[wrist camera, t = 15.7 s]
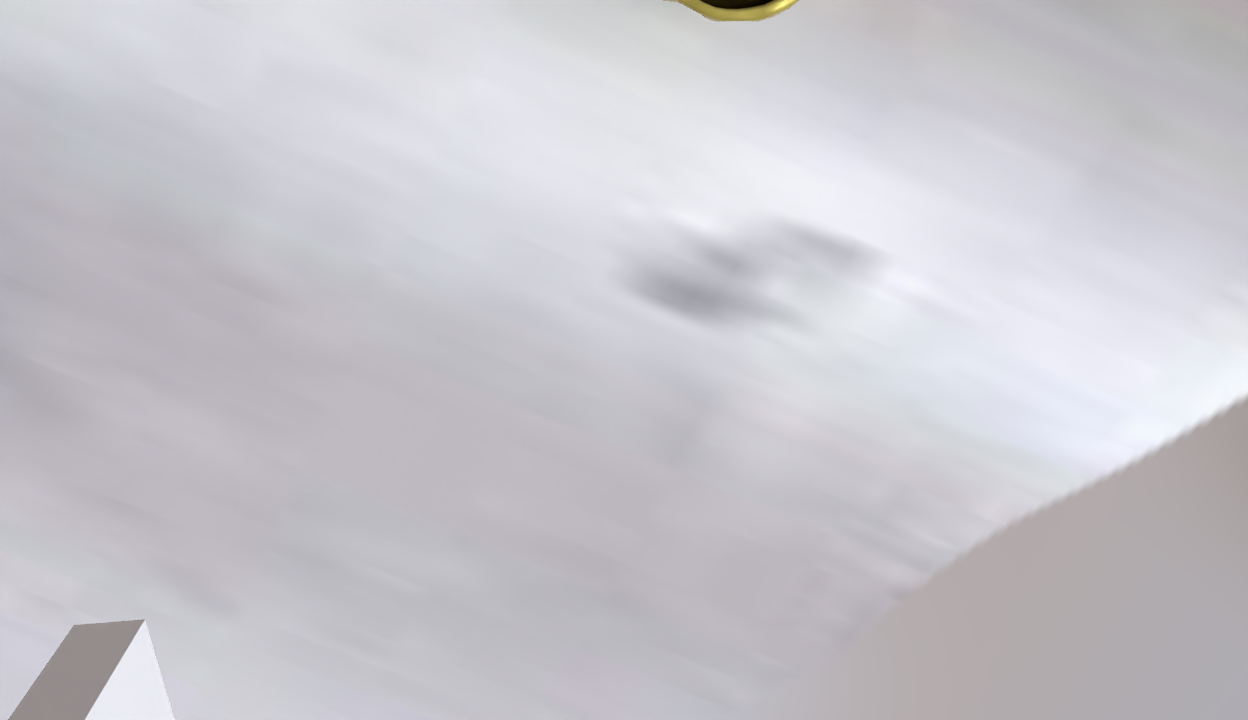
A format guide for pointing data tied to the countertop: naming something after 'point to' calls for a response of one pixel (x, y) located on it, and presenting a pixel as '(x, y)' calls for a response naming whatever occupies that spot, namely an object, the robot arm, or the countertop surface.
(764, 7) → the vase
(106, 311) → the countertop surface
